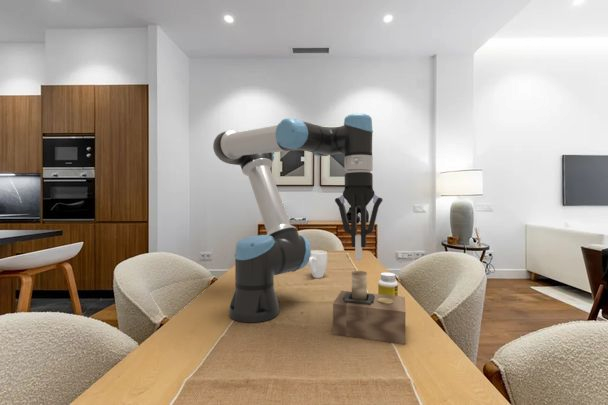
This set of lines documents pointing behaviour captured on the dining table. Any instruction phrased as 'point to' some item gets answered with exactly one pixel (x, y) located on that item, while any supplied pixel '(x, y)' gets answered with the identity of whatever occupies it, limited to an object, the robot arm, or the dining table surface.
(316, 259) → the mug
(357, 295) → the oak peg
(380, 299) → the socket block
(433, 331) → the dining table surface
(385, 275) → the pill bottle
